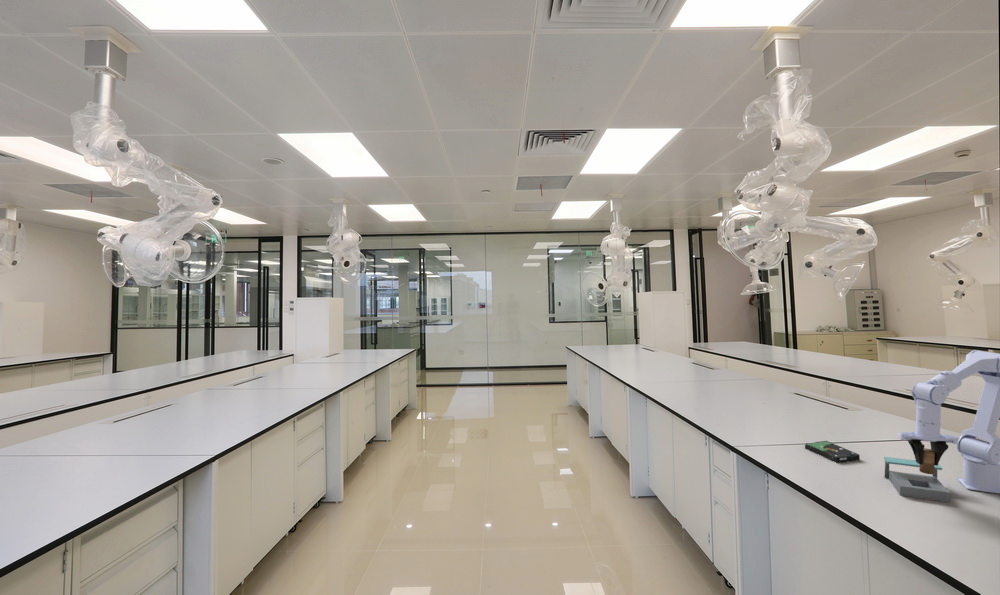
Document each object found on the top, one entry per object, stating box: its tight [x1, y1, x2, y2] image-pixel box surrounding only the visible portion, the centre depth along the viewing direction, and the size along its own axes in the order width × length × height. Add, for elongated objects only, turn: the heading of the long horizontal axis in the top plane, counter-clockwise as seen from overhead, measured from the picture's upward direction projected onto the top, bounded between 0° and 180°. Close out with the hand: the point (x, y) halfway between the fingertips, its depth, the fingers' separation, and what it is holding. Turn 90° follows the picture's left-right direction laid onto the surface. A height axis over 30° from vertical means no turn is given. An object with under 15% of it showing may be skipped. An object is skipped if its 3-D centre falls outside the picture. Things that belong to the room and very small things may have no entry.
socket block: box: [888, 470, 951, 503], centre depth 154 cm, size 12×12×3 cm
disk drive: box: [804, 440, 860, 464], centre depth 184 cm, size 10×3×15 cm
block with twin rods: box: [883, 456, 943, 479], centre depth 159 cm, size 14×4×7 cm, turn 64°
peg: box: [918, 447, 935, 475], centre depth 150 cm, size 4×4×7 cm
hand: (926, 463), depth 151 cm, fingers closed on peg, 3 cm apart
